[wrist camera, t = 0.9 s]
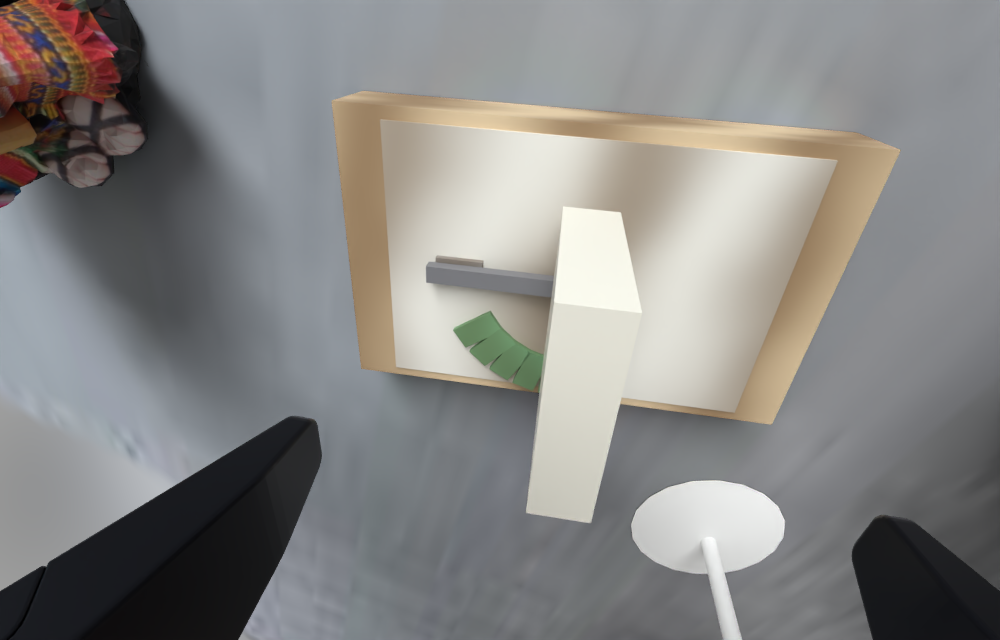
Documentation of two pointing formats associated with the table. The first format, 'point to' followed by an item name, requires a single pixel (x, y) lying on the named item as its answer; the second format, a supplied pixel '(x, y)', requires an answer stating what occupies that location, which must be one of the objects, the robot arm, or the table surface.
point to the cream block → (573, 354)
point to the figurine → (67, 91)
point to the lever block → (648, 227)
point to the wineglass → (709, 534)
